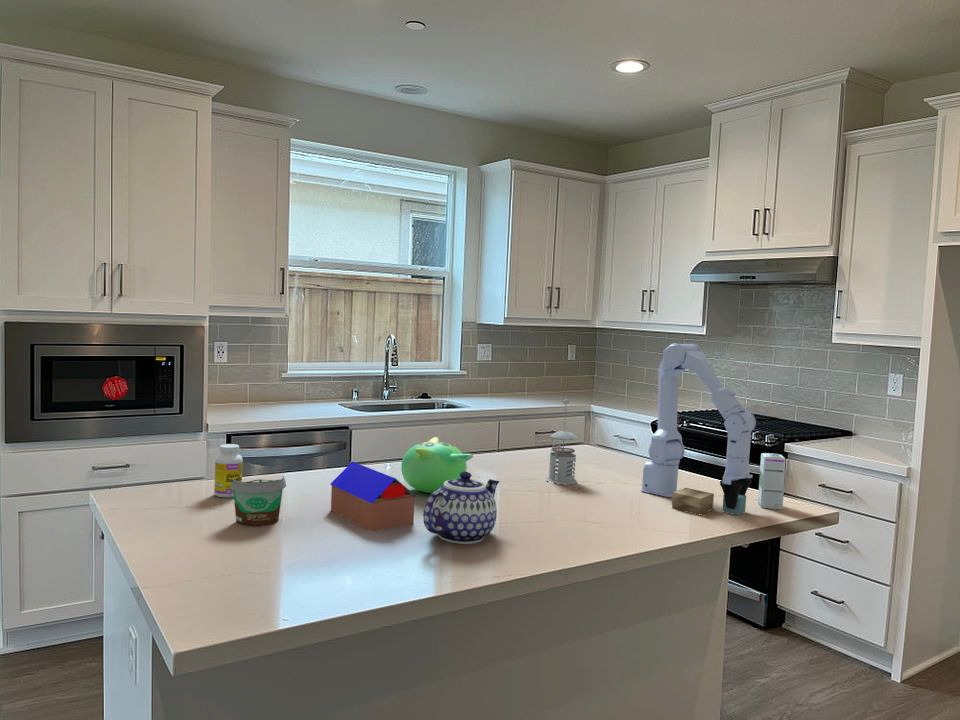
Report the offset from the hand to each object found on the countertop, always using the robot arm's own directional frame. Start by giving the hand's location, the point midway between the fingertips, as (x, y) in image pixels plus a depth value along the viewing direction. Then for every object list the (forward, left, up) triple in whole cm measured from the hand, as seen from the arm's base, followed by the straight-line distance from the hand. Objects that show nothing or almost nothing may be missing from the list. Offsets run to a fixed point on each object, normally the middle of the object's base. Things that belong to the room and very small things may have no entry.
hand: (734, 506), depth 194 cm
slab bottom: (-9, -6, -2) cm, 11 cm away
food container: (-72, -98, -2) cm, 122 cm away
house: (-60, -75, -2) cm, 96 cm away
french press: (-50, -8, -2) cm, 51 cm away
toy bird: (-66, -47, -2) cm, 81 cm away
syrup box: (+5, +14, -2) cm, 15 cm away
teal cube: (0, 0, -1) cm, 1 cm away
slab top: (-9, -6, 0) cm, 11 cm away
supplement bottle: (-98, -90, -2) cm, 133 cm away
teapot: (-35, -71, -2) cm, 79 cm away
